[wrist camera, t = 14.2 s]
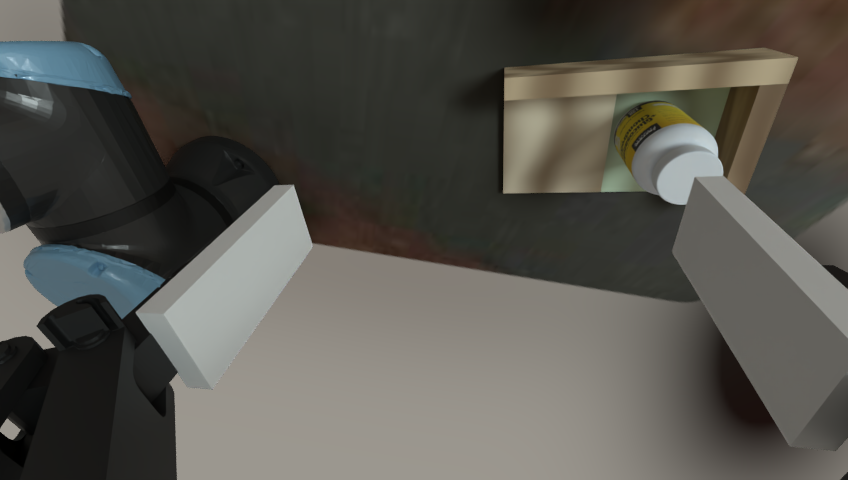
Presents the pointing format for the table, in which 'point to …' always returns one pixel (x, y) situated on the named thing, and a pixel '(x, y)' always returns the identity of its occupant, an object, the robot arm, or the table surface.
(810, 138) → the table surface
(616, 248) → the table surface
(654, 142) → the pill bottle
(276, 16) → the table surface
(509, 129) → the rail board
